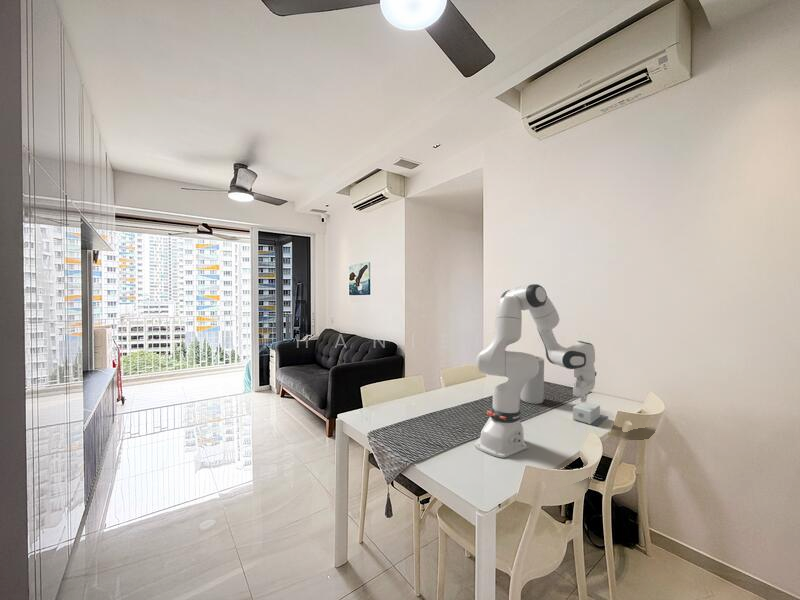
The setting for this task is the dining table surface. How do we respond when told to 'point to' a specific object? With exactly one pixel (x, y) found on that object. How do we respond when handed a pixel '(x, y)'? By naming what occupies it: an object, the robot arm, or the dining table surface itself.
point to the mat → (598, 420)
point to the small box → (586, 412)
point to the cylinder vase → (534, 386)
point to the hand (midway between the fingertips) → (583, 401)
